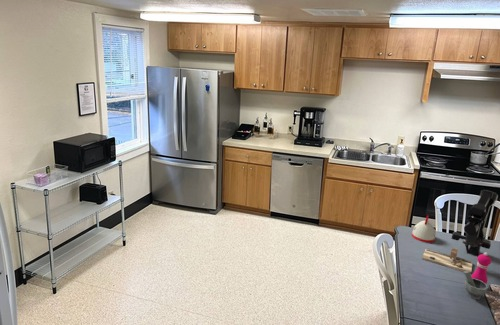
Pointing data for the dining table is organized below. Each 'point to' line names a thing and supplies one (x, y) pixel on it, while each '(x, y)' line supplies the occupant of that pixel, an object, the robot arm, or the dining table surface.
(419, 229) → the white dome
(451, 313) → the dining table surface
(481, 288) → the mortar and pestle
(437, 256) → the gauge board
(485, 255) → the pepper mill
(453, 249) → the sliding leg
